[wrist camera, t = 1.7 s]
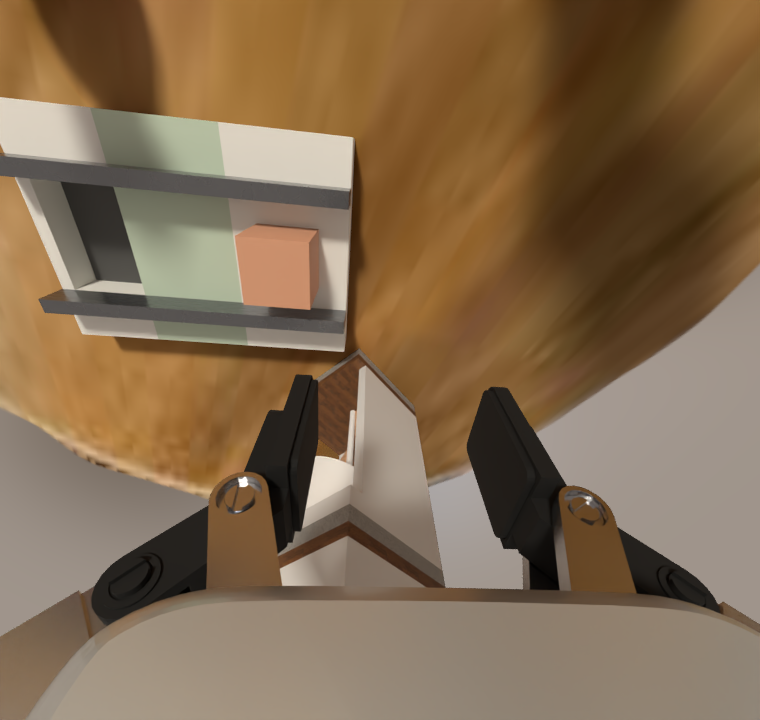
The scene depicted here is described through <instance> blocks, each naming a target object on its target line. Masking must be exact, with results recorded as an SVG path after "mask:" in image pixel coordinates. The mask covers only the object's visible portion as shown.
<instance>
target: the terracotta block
mask: <svg viewBox="0 0 760 720" xmlns="http://www.w3.org/2000/svg"><path fill="white" fill-rule="evenodd" d="M235 242H236V250H237V257H238V265H239V272H240V280H241V287H242V295H243V302H244V305H254V306H267V307H280V308H293V309H306V310H310V309H311V307H312V304H313V302H314V299H315V297H316V294H317V292H318V289H319V229H311V228H300V227H289V226H279V225H268V224H257V223H256V224H255V225H253V226H251V227H249V228H248V229H246V230H244V231H242V232H241V233H239V234H237V235H235Z"/></svg>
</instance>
